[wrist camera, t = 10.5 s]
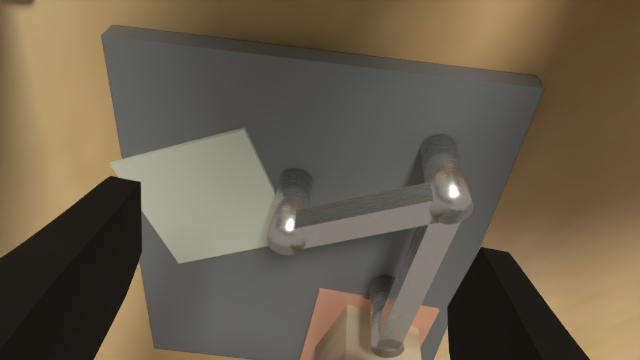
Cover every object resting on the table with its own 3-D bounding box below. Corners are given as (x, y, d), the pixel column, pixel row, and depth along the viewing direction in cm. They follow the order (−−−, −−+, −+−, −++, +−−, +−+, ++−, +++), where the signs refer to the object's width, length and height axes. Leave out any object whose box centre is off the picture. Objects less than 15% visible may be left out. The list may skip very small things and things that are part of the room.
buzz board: (151, 332, 30) (145, 350, 29) (99, 23, 19) (85, 36, 18) (423, 363, 30) (425, 382, 29) (536, 75, 19) (546, 91, 18)
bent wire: (272, 281, 25) (261, 343, 22) (283, 115, 19) (270, 170, 16) (410, 297, 25) (416, 361, 22) (461, 136, 19) (478, 194, 16)
